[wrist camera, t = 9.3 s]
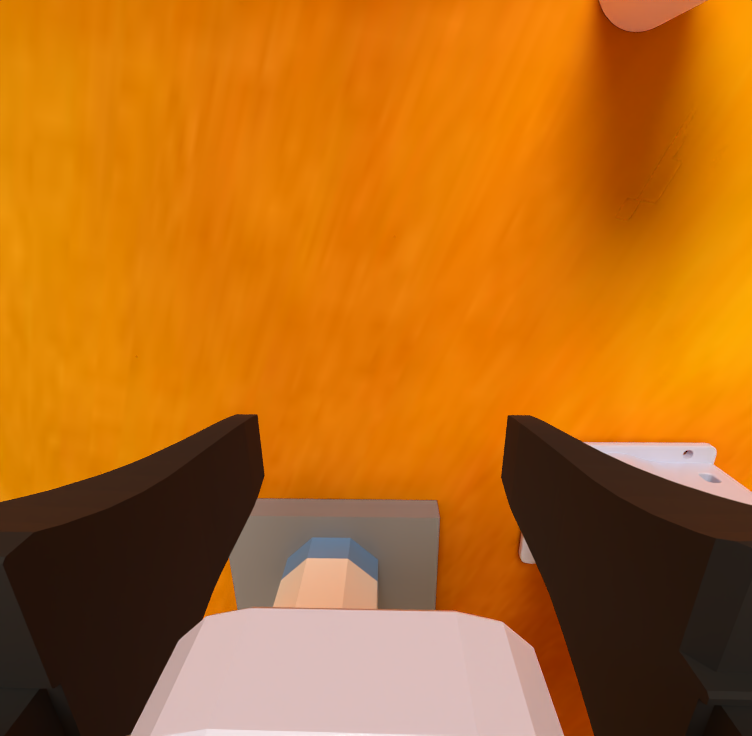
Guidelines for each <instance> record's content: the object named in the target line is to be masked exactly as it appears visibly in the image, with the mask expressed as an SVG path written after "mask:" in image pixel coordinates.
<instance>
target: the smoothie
mask: <svg viewBox="0 0 752 736" xmlns="http://www.w3.org/2000/svg"><path fill="white" fill-rule="evenodd" d="M705 1H707V0H599V2H600V5H601V8H602V10H603V12H604V14H605V15H606V17H607V18H608V19H609V20H610V21H611V22H612V23H613V24H614V25H615V26H617V27H619V28H621V29H623V30H626V31H630V32H642V31H647V30H650V29H653V28H655V27H657V26H659V25H661V24H663V23H665V22H667V21H669V20H671V19H673V18H675V17H677V16H679V15H680V14H682V13H684V12H686V11H688V10H690V9H692V8H694V7H696V6H698V5H700V4H702V3H703V2H705Z"/></svg>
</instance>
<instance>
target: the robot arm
mask: <svg viewBox="0 0 752 736" xmlns="http://www.w3.org/2000/svg"><path fill="white" fill-rule="evenodd" d="M687 450H688V451H687ZM685 451H687V453H686V454H684V455H683V453H684V452H685ZM716 454H717V451H716V448H714V447H713V446H711V445H710V444H708V443H633V442H582V441H580V440H578V439H576V438H574V437H572V436H570V435H568V434H566V433H565V432H563V431H561V430H559V429H557V428H555V427H553V426H552V425H550V424H548V423H546V422H544V421H542V420H540V419H537V418H535V417H533V416H530V415H508V419H507V428H506V438H505V447H504V456H503V466H502V475H501V478H502V482H503V485H504V489H505V492H506V496H507V499H508V502H509V505H510V508H511V510H512V513H513V515H514V517H515V519H516V522H517V524H518V526H519V528H520V530H521V540H520V547H519V556H520V559H521V560H522V562H524V563H536V565H537V567H538V569H539V571H540V573H541V575H542V578H543V580H544V582H545V585H546V587H547V590H548V592H549V594H550V597H551V600H552V603H553V606H554V609H555V612H556V615H557V617H558V620H559V623H560V626H561V629H562V632H563V635H564V638H565V641H566V644H567V647H568V651H569V654H570V657H571V660H572V663H573V666H574V669H575V672H576V676H577V679H578V682H579V685H580V689H581V692H582V695H583V699H584V702H585V706H586V709H587V712H588V716H589V719H590V723H591V726H592V729H593V733H594V736H752V492H751V491H750V490H748V489H747V488H745V487H744V486H743V485H741V484H740V483H739V482H737V481H736V480H734V479H733V478H732V477H730V476H729V475H728V474H726V473H725V472H723V471H722V470H721V469H719V468H718V467H716V466H715V465H714V461H715V457H716ZM263 479H264V467H263V459H262V450H261V442H260V433H259V425H258V416H257V415H242V414H237V415H234V416H231V417H228V418H226V419H224V420H222V421H219V422H217V423H215V424H213V425H211V426H209V427H207V428H205V429H203V430H202V431H200V432H198V433H196V434H194V435H192V436H190V437H188V438H186V439H184V440H182V441H180V442H178V443H175V444H173V445H171V446H169V447H167V448H165V449H163V450H161V451H158V452H156V453H154V454H152V455H150V456H148V457H145V458H143V459H141V460H138V461H136V462H133V463H131V464H128V465H126V466H123V467H120V468H118V469H115V470H112V471H110V472H107V473H104V474H101V475H98V476H95V477H92V478H88V479H85V480H82V481H79V482H75V483H72V484H69V485H66V486H62V487H59V488H56V489H52V490H49V491H45V492H41V493H37V494H33V495H29V496H25V497H21V498H17V499H12V500H8V501H3V502H0V736H564V734H563V731H562V728H561V725H560V722H559V720H558V717H557V714H556V711H555V708H554V705H553V702H552V699H551V697H550V694H549V691H548V688H547V685H546V682H545V679H544V676H543V673H542V671H541V668H540V665H539V662H538V659H537V656H536V653H535V650H534V648H533V647H532V646H531V645H530V644H529V643H527V642H526V641H525V640H524V639H523V638H521V637H520V636H519V635H518V634H516V633H515V632H514V631H513V630H512V629H510V628H509V627H508V626H507V625H506V624H504V623H503V622H501V621H498V620H495V619H491V618H486V617H482V616H477V615H473V614H468V613H464V612H459V611H454V610H404V609H350V608H294V607H251V608H245V609H240V610H235V611H230V612H224V613H219V614H214V615H210V616H206V617H205V618H204V619H203V617H204V614H205V611H206V609H207V606H208V603H209V601H210V598H211V595H212V593H213V590H214V588H215V585H216V583H217V581H218V579H219V577H220V574H221V572H222V570H223V568H224V566H225V564H226V562H227V560H228V558H229V556H230V554H231V552H232V550H233V548H234V546H235V544H236V542H237V540H238V538H239V536H240V534H241V532H242V530H243V528H244V526H245V524H246V522H247V520H248V518H249V516H250V514H251V512H252V510H253V508H254V506H255V503H256V500H257V497H258V494H259V492H260V488H261V485H262V482H263ZM202 619H203V620H202Z"/></svg>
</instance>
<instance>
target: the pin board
mask: <svg viewBox="0 0 752 736" xmlns="http://www.w3.org/2000/svg"><path fill="white" fill-rule="evenodd" d="M439 525H440V516H439V510H438V505H437V500H352V499H257V500H256V503H255V506H254V508H253V510H252V512H251V514H250V516H249V518H248V520H247V522H246V524H245V526H244V528H243V530H242V532H241V534H240V536H239V538H238V540H237V542H236V544H235V546H234V548H233V550H232V552H231V554H230V556H229V559H230V566H231V572H232V578H233V584H234V590H235V596H236V602H237V608H238V610H240V609H245V608H251V607H273V605H274V602H275V598H276V595H277V592H278V589H279V585H280V582H281V579H282V575H283V572H284V569H285V566H286V562H287V559H288V558H289V557H290V556H291V555H292V554H294V553H295V552H296V551H297V550H298V549H299V548H301V547H302V546H303V545H304V544H305V543H306V542H308V541H309V540H310V539H311V538H312V537H316V538H351V539H353V540H354V541H355V542H356V543H358V544H359V545H360V546H361V547H363V548H364V549H365V550H366V551H368V552H369V553H370V554H372V555H373V556H374V557H375V558H377V559H378V609H404V610H435V604H436V584H437V564H438V545H439Z"/></svg>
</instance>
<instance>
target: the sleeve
mask: <svg viewBox="0 0 752 736" xmlns="http://www.w3.org/2000/svg"><path fill="white" fill-rule="evenodd" d="M273 607H294V608H350V609H378V559H377V558H375V557H374V556H373V555H372V554H370V553H369V552H368V551H366V550H365V549H364V548H363V547H361V546H360V545H359V544H358V543H356V542H355V541H354V540H353V539H351V538H316V537H312V538H311V539H310V540H309V541H308V542H306V543H305V544H304V545H303V546H302V547H301V548H299V549H298V550H297V551H296V552H295V553H294V554H292V555H291V556H290V557H289V558H288V559H287V562H286V566H285V569H284V572H283V575H282V579H281V582H280V585H279V589H278V592H277V595H276V598H275V602H274V605H273Z"/></svg>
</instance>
